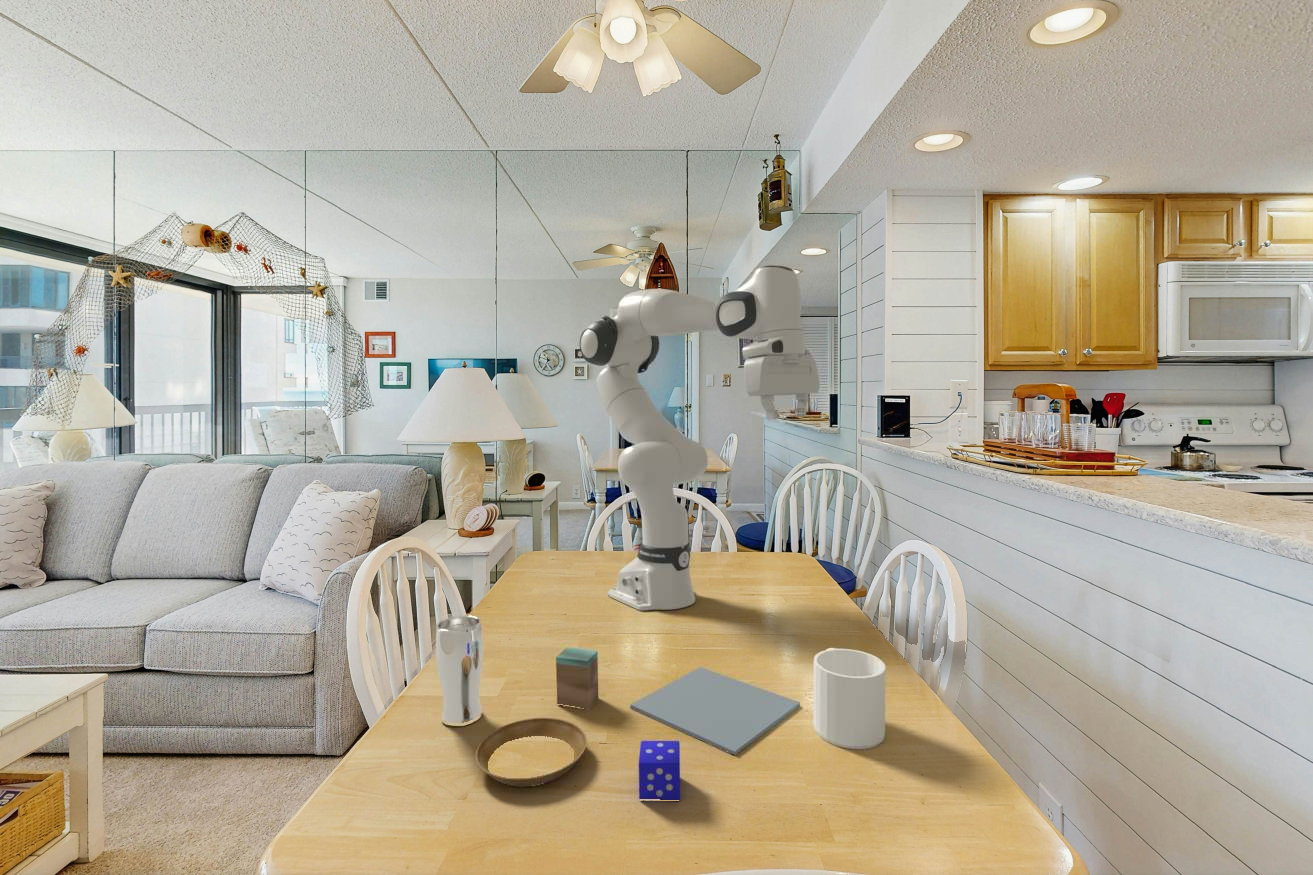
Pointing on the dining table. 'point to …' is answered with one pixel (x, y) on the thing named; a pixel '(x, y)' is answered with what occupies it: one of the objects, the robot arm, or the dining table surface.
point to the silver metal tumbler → (460, 667)
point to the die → (659, 770)
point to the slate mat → (716, 709)
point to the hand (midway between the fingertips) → (786, 418)
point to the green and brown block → (577, 677)
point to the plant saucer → (530, 728)
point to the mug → (849, 698)
